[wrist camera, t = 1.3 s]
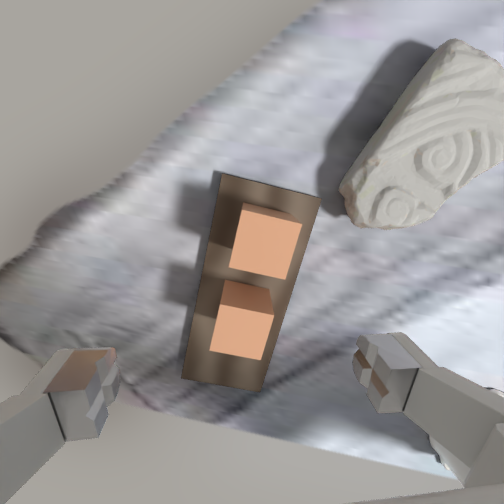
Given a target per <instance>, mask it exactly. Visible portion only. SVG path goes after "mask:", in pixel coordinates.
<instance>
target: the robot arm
mask: <svg viewBox="0 0 504 504" xmlns="http://www.w3.org/2000/svg"><path fill="white" fill-rule="evenodd" d="M356 345H357V346H358V348H359V350H358V351H357V352H356V353H355V354H354V356H353V362H352V363H353V370H354V373H355V376H356V378H357V380H358V381H359V383H360V384H362V385H363V386H364V387H366V388H367V394H366V395H367V396H368V398H369V400H370V401H371V403H372V405H373V406H374V408H375V410H376V411H377V413H378V414H379V413H397V412H404V413H403V414H404V415H405V416H407V417H408V418H409V419H410V420H412V421H413V422H414V423H415V424H416V425H418V426H419V427H420V428H421V429H423V430H424V431H425V432H426V433H427V434H429V439H430V444H431V446H432V447H433V449H434V450H435V451H436V452H437V453H438V454H439V456H440V461H441V463H442V465H443V466H444V467H445V468H446V469H447V470H450V471H452V472H453V474H454V475H455V476H456V477H457V479H458V480H459V481H460V482H461V484H462V485H463V486H464V487H465V488H462V489H454V490H447V491H438V492H431V493H423V494H415V495H407V496H400V497H391V498H384V499H376V500H368V501H360V502H353V503H345V504H504V393H503V392H501V391H499V390H496V389H490V390H488V389H486V388H484V387H482V386H480V385H478V384H476V383H474V382H472V381H470V380H468V379H466V378H464V377H462V376H460V375H458V374H456V373H454V372H452V371H450V370H448V369H446V368H444V367H438V366H437V365H436V364H435V363H434V362H433V361H432V360H431V359H430V358H429V357H428V356H427V355H426V354H425V353H424V352H423V351H422V350H421V349H420V348H419V347H418V346H417V345H416V344H415V343H414V342H413V341H412V340H411V339H410V338H409V337H408V336H407V335H406V334H404V333H402V332H398V333H387V334H370V335H360V336H359V337H358V339H357V343H356ZM116 358H117V355H116V351H115V349H114V348H112V347H98V348H72V349H60V350H58V351H56V352H55V353H54V354H53V356H52V357H51V358H50V359H49V360H48V362H47V363H46V364H45V365H44V366H43V367H42V369H41V370H40V371H39V372H38V374H37V375H36V376H35V377H34V378H33V379H32V381H31V382H30V383H29V384H28V386H26V388H25V389H24V390H23V391H22V392H21V394H20V395H16V396H12V397H10V398H8V399H7V400H5V401H3V402H2V403H0V504H5V503H6V502H7V501H8V500H9V499H10V498H11V497H12V496H13V495H14V494H15V493H16V492H17V491H18V490H19V489H20V488H21V487H22V486H23V485H24V484H25V483H26V482H27V481H28V480H29V479H30V478H31V477H32V476H33V475H34V474H35V473H36V472H37V471H38V470H39V469H40V468H41V467H42V466H43V465H44V464H45V463H46V462H47V461H48V460H49V459H50V458H51V457H52V456H53V455H54V454H55V453H56V452H57V451H58V450H59V449H60V448H61V447H62V446H63V445H64V444H65V442H66V441H75V440H83V439H92V438H98V437H99V435H100V433H101V431H102V428H103V426H104V424H105V422H106V419H107V417H108V410H107V407H108V406H109V405H110V404H111V403H112V402H114V401H115V398H116V396H117V394H118V391H119V386H120V369H119V367H118V366H116V365H115V364H114V362H115V360H116Z"/></svg>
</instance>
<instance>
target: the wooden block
mask: <svg viewBox="0 0 504 504" xmlns="http://www.w3.org/2000/svg"><path fill="white" fill-rule="evenodd" d="M273 318H274V311H273V306H272V301H271V296H270V291H269V289H266V288H261V287H257V286H252V285H247V284H243V283H238V282H233V281H229V280H225V282H224V287H223V291H222V295H221V300H220V304H219V308H218V313H217V317H216V321H215V326H214V331H213V336H212V340H211V345H210V350H209V351H214V352H220V353H225V354H230V355H236V356H241V357H246V358H251V359H257V360H261V358H262V354H263V351H264V348H265V345H266V341H267V338H268V335H269V331H270V328H271V325H272V322H273Z"/></svg>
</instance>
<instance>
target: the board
mask: <svg viewBox="0 0 504 504" xmlns="http://www.w3.org/2000/svg"><path fill="white" fill-rule="evenodd" d="M321 200H322V199H321V198H317V197H313V196H309V195H306V194H302V193H298V192H294V191H290V190H286V189H282V188H278V187H274V186H270V185H266V184H262V183H258V182H254V181H250V180H246V179H242V178H239V177H235V176H231V175H227V174H222V177H221V182H220V187H219V191H218V196H217V201H216V206H215V211H214V216H213V221H212V226H211V231H210V236H209V241H208V246H207V251H206V256H205V261H204V266H203V271H202V276H201V281H200V286H199V291H198V296H197V301H196V306H195V311H194V316H193V321H192V326H191V331H190V336H189V341H188V346H187V351H186V356H185V361H184V366H183V371H182V376H181V378H183V379H188V380H194V381H199V382H205V383H211V384H216V385H222V386H227V387H233V388H239V389H244V390H250V391H255V392H260V391H261V388H262V385H263V382H264V379H265V376H266V372H267V369H268V366H269V363H270V360H271V357H272V354H273V350H274V347H275V344H276V341H277V338H278V335H279V332H280V328H281V325H282V322H283V319H284V316H285V313H286V310H287V306H288V303H289V300H290V297H291V294H292V291H293V288H294V285H295V281H296V278H297V275H298V272H299V269H300V266H301V263H302V259H303V256H304V253H305V250H306V247H307V244H308V241H309V237H310V234H311V231H312V228H313V225H314V222H315V219H316V215H317V212H318V209H319V206H320V203H321ZM243 202H244V203H248V204H252V205H256V206H260V207H264V208H268V209H273V210H277V211H281V212H285V213H289V214H291V215H293V216H294V217H295V218H296V219H297V220H298V221H299V222H300V223H301V224H302V227H301V230H300V233H299V236H298V240H297V243H296V246H295V250H294V253H293V256H292V259H291V263H290V266H289V269H288V272H287V276H286V279H285V280H284V279H280V278H275V277H270V276H266V275H261V274H257V273H252V272H248V271H243V270H239V269H234V268H230V267H229V263H230V258H231V253H232V248H233V243H234V239H235V235H236V230H237V226H238V222H239V217H240V213H241V209H242V204H243ZM225 280H229V281H233V282H238V283H243V284H247V285H252V286H257V287H261V288H266V289H269V291H270V296H271V301H272V306H273V311H274V318H273V322H272V325H271V328H270V331H269V335H268V338H267V341H266V345H265V348H264V351H263V354H262V358H261V360H257V359H251V358H246V357H241V356H236V355H230V354H225V353H220V352H214V351H209V350H210V345H211V340H212V336H213V331H214V326H215V321H216V317H217V313H218V308H219V304H220V300H221V295H222V291H223V287H224V282H225Z"/></svg>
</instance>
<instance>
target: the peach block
mask: <svg viewBox="0 0 504 504" xmlns="http://www.w3.org/2000/svg"><path fill="white" fill-rule="evenodd" d="M301 227H302V224H301V223H300V222H299V221H298V220H297V219H296V218H295V217H294V216H293V215H291V214H289V213H285V212H281V211H277V210H273V209H268V208H264V207H260V206H256V205H252V204H248V203H244V202H243V204H242V209H241V213H240V217H239V222H238V226H237V230H236V235H235V239H234V243H233V248H232V253H231V258H230V263H229V267H230V268H234V269H239V270H243V271H248V272H252V273H257V274H261V275H266V276H270V277H275V278H280V279H284V280H285V279H286V276H287V272H288V269H289V266H290V263H291V259H292V256H293V253H294V250H295V246H296V243H297V240H298V236H299V233H300V230H301Z"/></svg>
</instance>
